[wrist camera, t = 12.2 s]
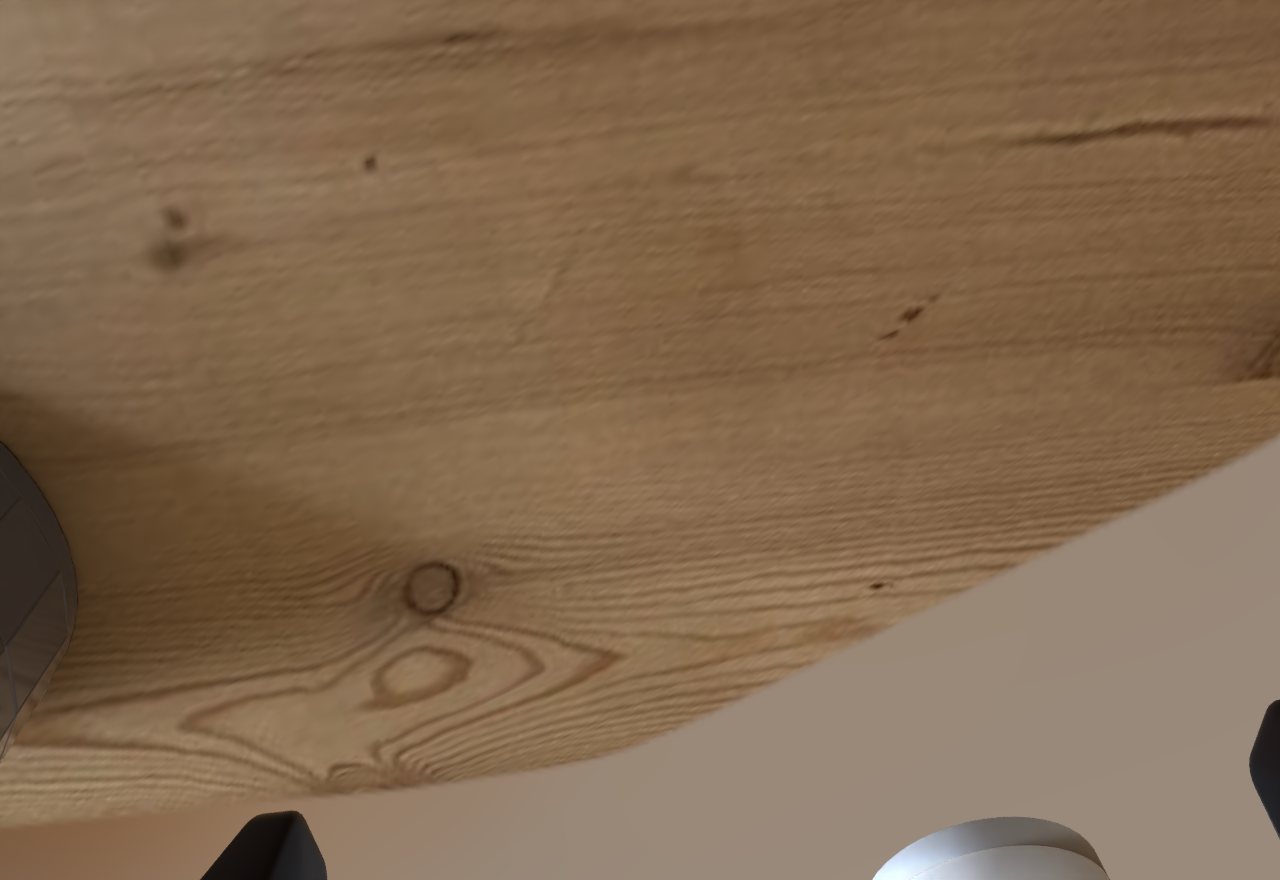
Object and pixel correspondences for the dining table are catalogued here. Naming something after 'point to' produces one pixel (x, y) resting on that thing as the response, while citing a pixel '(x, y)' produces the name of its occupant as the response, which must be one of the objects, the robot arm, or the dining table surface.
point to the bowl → (30, 597)
